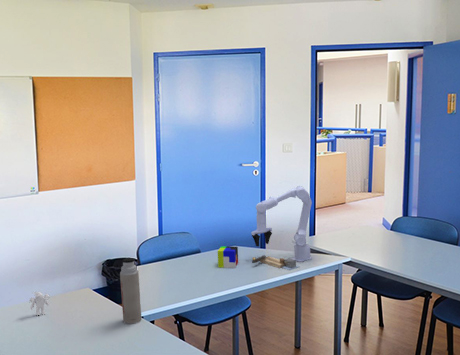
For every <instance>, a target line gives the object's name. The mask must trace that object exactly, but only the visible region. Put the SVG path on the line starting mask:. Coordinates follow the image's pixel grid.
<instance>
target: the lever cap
mask: <svg viewBox="0 0 460 355" xmlns="http://www.w3.org/2000/svg"><path fill="white" fill-rule="evenodd" d="M284 266H285V267H288V268H294V267H296V266H297V261H296V260H294V259H291V258H289V257H288V258H284Z"/></svg>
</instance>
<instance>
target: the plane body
mask: <svg viewBox="0 0 460 355" xmlns="http://www.w3.org/2000/svg"><path fill="white" fill-rule="evenodd" d="M284 259H285V258H284V257H283V258H277V257H273V256H266V259H264V260H261V261H259V263H263V264H266V265H269V266H272V267H275V268H278V269H283V268H282V267H284Z"/></svg>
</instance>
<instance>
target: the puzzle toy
mask: <svg viewBox="0 0 460 355" xmlns="http://www.w3.org/2000/svg"><path fill="white" fill-rule="evenodd" d="M238 249H239V247H238V246H226V245H225V246H223V245H222V246H220V247H219V249H218V250H217V267H218V268H221V269H222V268H223V269H224V268H226V269H235V268H236V267H237V265H238V264H239V252H238V251H239V250H238Z"/></svg>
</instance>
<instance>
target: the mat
mask: <svg viewBox="0 0 460 355" xmlns="http://www.w3.org/2000/svg"><path fill="white" fill-rule="evenodd" d="M298 268H300V266H299V265H296V267H294V268H288V267H285V266H284V267H282V268H281V269H285V270H287V271H291V270H294V269H295V270H296V269H298Z"/></svg>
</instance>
